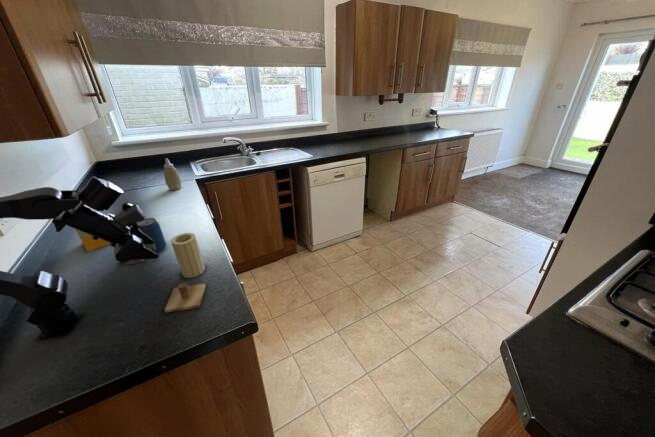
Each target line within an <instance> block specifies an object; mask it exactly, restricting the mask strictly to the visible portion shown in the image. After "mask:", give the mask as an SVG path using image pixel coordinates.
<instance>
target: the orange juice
mask: <svg viewBox="0 0 655 437" xmlns="http://www.w3.org/2000/svg"><path fill="white" fill-rule="evenodd" d="M80 202H81V201H80ZM85 206H86V205H85ZM87 207H88V206H87ZM89 208H90V207H89ZM91 209H92V208H91ZM93 210H94V209H93ZM75 232H76V233H77V235H78V236H79V239H80V241H81V242H82V245H83V246H84V248H85V250H86V252H91V251H94V250H97V249H100V248H103V247H106V246H110V242H107V241H105V240H102V239H100V238H98V239H97V240H94V239H92V235H90V234H87V233H85V232H82V231H80V230H77V229H75Z"/></svg>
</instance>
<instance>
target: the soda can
mask: <svg viewBox="0 0 655 437" xmlns="http://www.w3.org/2000/svg"><path fill="white" fill-rule="evenodd" d="M137 225H138V228H139V229H140V230H141V231H142V232H143V233H145V234H146V235H147V236H148V237H150V238H151V239H152V240H153V241H154V243H153V244H144V243H143V245H144V246H145V247H147V248H149V249H150V250H152V251H154V252H155V253H157V254H159V253H161V252H163V251H164V250H165V249H166V247H167V242H166V239H165V236H164V234H163V231H162V228H161V225H160V222H159V221H157V220H156V218H154V217H148V218H145V219H144V220H142V221H139V222H137Z"/></svg>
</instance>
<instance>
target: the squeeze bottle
mask: <svg viewBox="0 0 655 437" xmlns="http://www.w3.org/2000/svg"><path fill="white" fill-rule="evenodd" d="M164 161H165V163H164V165H163V167H164V169H163V175H164V180H165V185H166V187H167V188H168V190H170V191H177V190H180V189H181V188H182V180H181V177H180V175H179V173H178V170H177V168H176V167H174V164H173V163H171V162H170V160H169V158H167V157H166V158H165V159H164Z"/></svg>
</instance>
